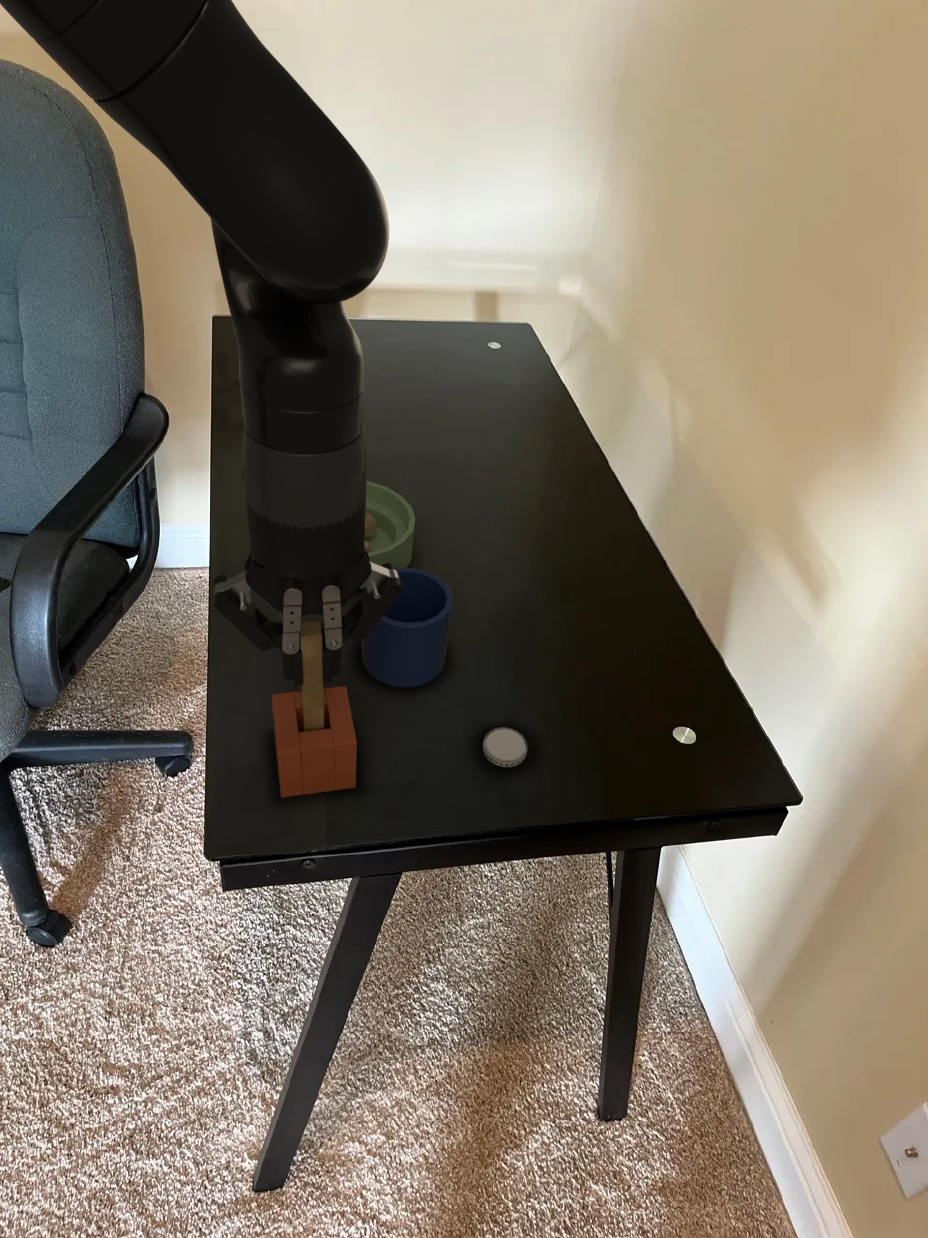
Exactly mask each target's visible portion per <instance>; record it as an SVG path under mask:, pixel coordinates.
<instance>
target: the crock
mask: <svg viewBox="0 0 928 1238" xmlns="http://www.w3.org/2000/svg"><path fill="white" fill-rule="evenodd" d="M397 572H398V574H399V578H400V581H401V586H402V593H401V594H400V596H399V597H398V598H397V599H396V601H395V602H394V603H393V604H392V606H391V607H390V608H389V609H388V611H387V612H386V613H385V614H384V616H383V617H382V618H381V619H380V621H379V622H378V623H377V624H376V626H375V627H374V628H373V629H372V631H371V632H370V633H369V634H368V636H367V637H366V638H365V639H364V640H362V641H360V642H361V644H360V652H361V661H362V664H363V666H364V669H365V670H366V671H367V673H368V674H369V675H370V676H371V677H372V678H374V679H375V680H377V681H378V682H381V683H383V684H385V685H388V686H390V687H391V686H392V687H395V688H396V687H397V688H414V687H419V686H423V685H425V684H427V683H430V682H431V681H433V680H434V679H435V678H437V677H438V676H439V675H440V673H442V670H443V669H444V667H445V661H446V656H447V650H448V644H449V635H450V627H451V620H452V612H453V602H454V597H453V594H452V591H451V588H450V586H449V585H448V584H447V583H446V582H445V581H444V580H443V579H442V578H441V577H440V576H437V575H435V574H433V573H431V572H429V571H427V570H425V569H424V570H423V569H419V568H414V567H406V568H397Z"/></svg>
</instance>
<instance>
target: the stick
mask: <svg viewBox="0 0 928 1238" xmlns="http://www.w3.org/2000/svg"><path fill="white" fill-rule="evenodd" d="M321 630H322V624H321V621H320V620H315V621H304V622H302V621H301V632H300V649H301V650H302V663H303V685H300V691H301V698H302V720H303V732H307V731H316V730H324V694H323V689H324V683H323V670H322V648H323V643H322V631H321Z"/></svg>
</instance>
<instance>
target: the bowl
mask: <svg viewBox="0 0 928 1238" xmlns="http://www.w3.org/2000/svg"><path fill="white" fill-rule="evenodd" d="M366 512H367V513H370V514H371V515H373V516H374V517H375V519H376V521H377V530H376V532H375V534H374V535H373V536H372V537H370V538H367V539H365V540H366V541H368V542H369V543H370V545H371V547H372V550H373V552H369V553H368V555H369V561H370V562H372V563H374V564H377V565H379V566H382V565H384V564H386V563H392V564H394V565H395V566H396V569H397V568H408V566H409V564H411V562H412V557H413V551H414V543H415V542H414V541H415V540H414V539H415V526H416V516H415V513H414V510H413V507H412V506H411V504H410V503H409V502H408V501H407V500H406V499H405V498H404V497H403V496H402V495H401V494H399V493H397V492H396V491H394V490H393V489H391V488H389V487H387V486H384V485H382V484H378V483H375V482H372V481H368V480H366ZM365 587H366V585H365V582H364V583H363V584H362V585H361V587H360V588H359V589H358V590H364V588H365Z"/></svg>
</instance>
